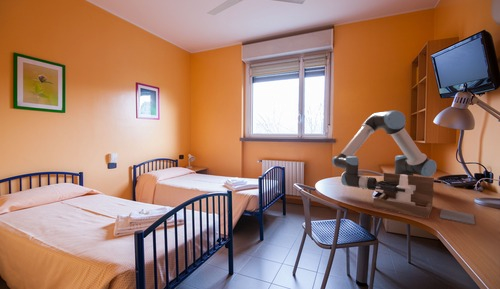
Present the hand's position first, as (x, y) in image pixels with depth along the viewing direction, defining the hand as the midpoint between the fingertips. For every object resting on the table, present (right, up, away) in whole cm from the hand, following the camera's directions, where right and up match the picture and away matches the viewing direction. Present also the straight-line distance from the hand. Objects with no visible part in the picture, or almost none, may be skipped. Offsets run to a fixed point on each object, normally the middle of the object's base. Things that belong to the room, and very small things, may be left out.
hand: (414, 189), depth 119 cm
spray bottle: (-3, -11, +4) cm, 12 cm away
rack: (-3, -10, +4) cm, 12 cm away
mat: (+13, -11, -11) cm, 20 cm away
